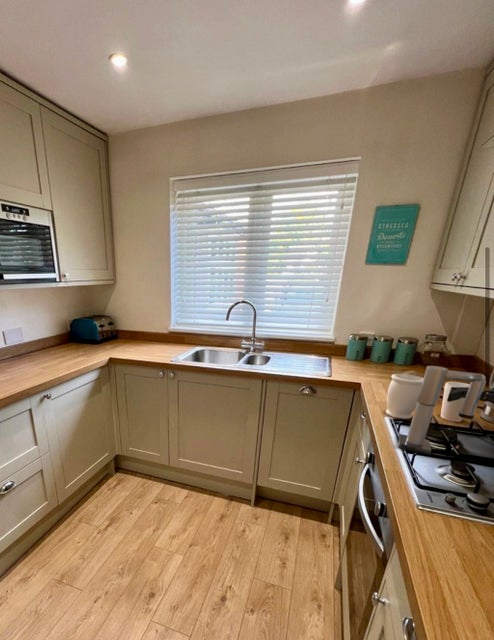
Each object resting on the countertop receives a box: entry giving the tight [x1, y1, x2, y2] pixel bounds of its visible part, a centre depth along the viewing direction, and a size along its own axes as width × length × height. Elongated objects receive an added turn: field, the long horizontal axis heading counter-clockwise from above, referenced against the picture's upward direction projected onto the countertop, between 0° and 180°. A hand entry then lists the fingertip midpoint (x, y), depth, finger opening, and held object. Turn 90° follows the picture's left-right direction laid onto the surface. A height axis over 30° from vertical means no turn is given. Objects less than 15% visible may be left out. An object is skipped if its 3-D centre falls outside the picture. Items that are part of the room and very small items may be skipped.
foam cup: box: [440, 381, 470, 423], centre depth 122 cm, size 10×9×13 cm
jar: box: [385, 373, 424, 420], centre depth 123 cm, size 11×10×15 cm
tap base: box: [397, 402, 436, 456], centre depth 100 cm, size 8×8×14 cm
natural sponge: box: [402, 370, 423, 378], centre depth 151 cm, size 9×9×10 cm
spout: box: [417, 365, 487, 420], centre depth 94 cm, size 14×5×13 cm, turn 65°
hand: (476, 404), depth 94 cm, fingers open, 13 cm apart
